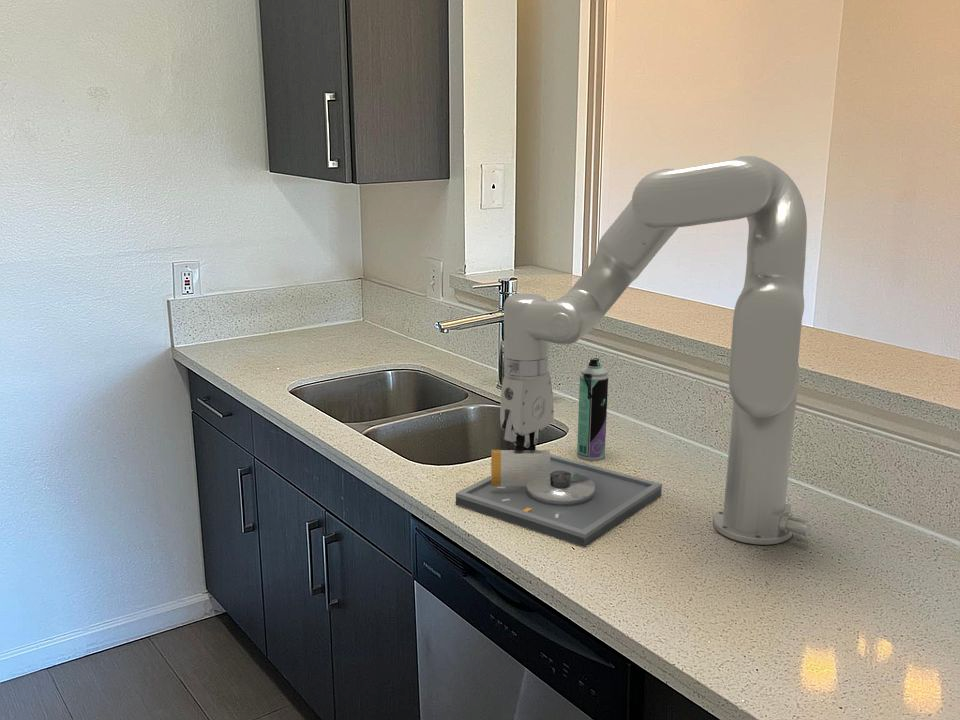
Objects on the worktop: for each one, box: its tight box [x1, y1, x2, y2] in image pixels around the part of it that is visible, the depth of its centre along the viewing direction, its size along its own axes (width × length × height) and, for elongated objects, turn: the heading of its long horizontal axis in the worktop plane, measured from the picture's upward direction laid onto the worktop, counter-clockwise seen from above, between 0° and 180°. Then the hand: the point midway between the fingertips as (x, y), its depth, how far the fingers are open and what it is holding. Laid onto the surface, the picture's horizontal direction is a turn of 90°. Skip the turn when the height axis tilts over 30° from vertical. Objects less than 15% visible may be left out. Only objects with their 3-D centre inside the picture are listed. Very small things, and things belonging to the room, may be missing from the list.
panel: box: [455, 453, 663, 548], centre depth 161 cm, size 26×26×2 cm
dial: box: [490, 449, 595, 506], centre depth 160 cm, size 18×12×8 cm, turn 91°
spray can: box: [576, 357, 609, 462], centre depth 180 cm, size 6×6×20 cm
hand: (525, 465), depth 163 cm, fingers closed
